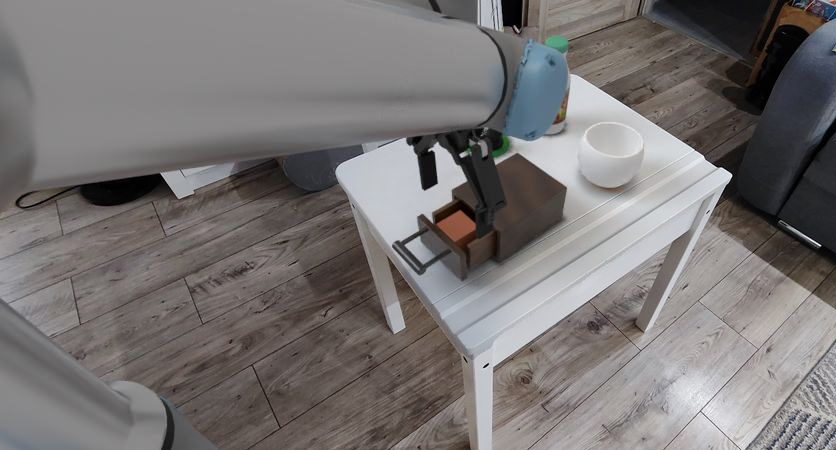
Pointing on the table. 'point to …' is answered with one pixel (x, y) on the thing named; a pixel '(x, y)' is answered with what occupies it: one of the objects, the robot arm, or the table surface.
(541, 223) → the cabinet
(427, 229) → the drawer
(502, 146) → the toy figurine
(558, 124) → the milk bottle
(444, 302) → the table surface
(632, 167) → the cup
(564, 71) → the robot arm
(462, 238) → the block
